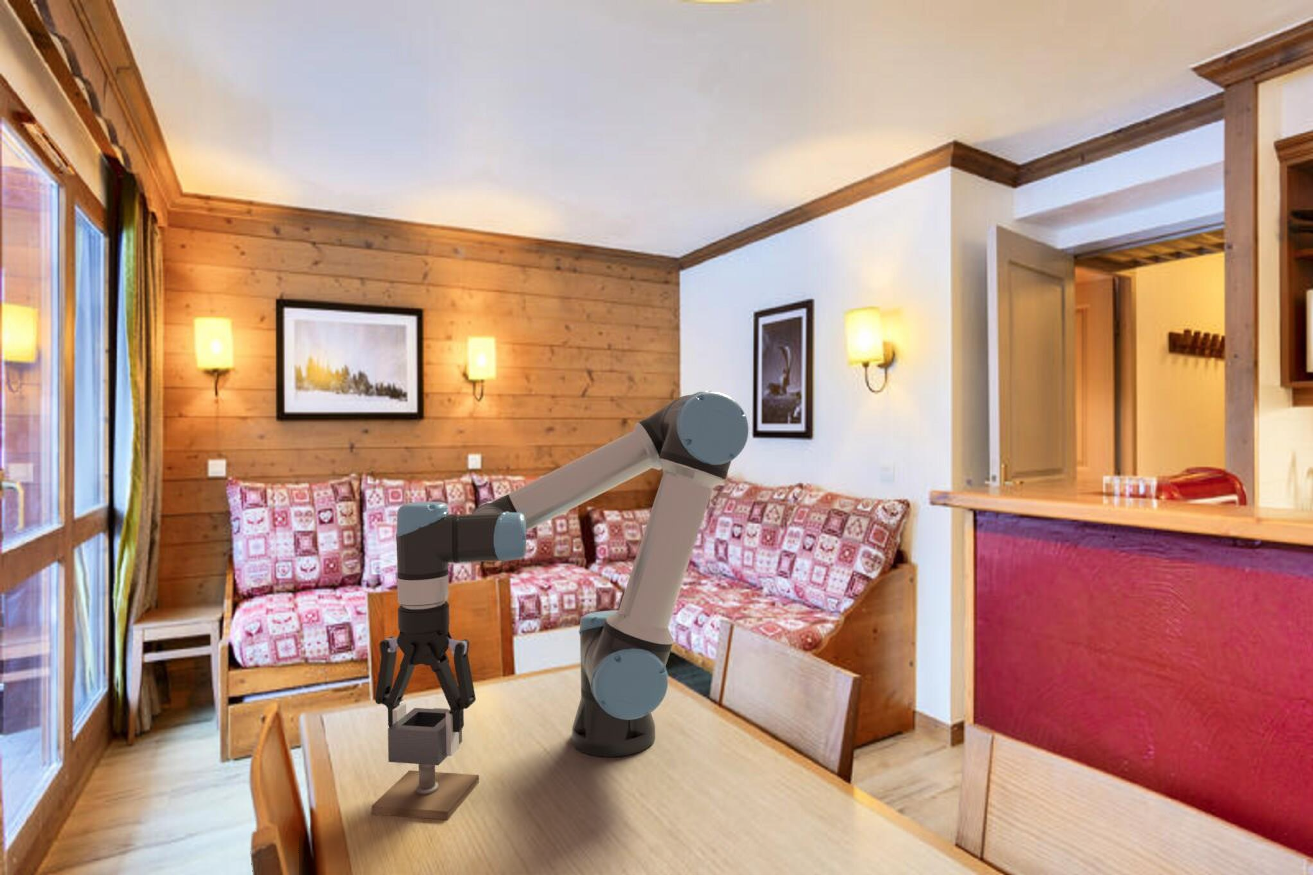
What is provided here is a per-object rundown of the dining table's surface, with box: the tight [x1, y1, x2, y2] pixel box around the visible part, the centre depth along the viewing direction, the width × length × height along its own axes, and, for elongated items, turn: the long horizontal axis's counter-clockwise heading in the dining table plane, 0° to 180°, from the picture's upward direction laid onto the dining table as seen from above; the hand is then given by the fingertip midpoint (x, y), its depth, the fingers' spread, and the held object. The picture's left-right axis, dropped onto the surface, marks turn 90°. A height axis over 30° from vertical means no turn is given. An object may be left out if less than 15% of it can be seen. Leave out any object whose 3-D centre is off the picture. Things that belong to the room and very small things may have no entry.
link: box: [387, 707, 463, 766], centre depth 109 cm, size 8×8×5 cm
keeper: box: [371, 764, 480, 820], centre depth 109 cm, size 12×11×9 cm
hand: (426, 749), depth 109 cm, fingers closed on link, 8 cm apart
